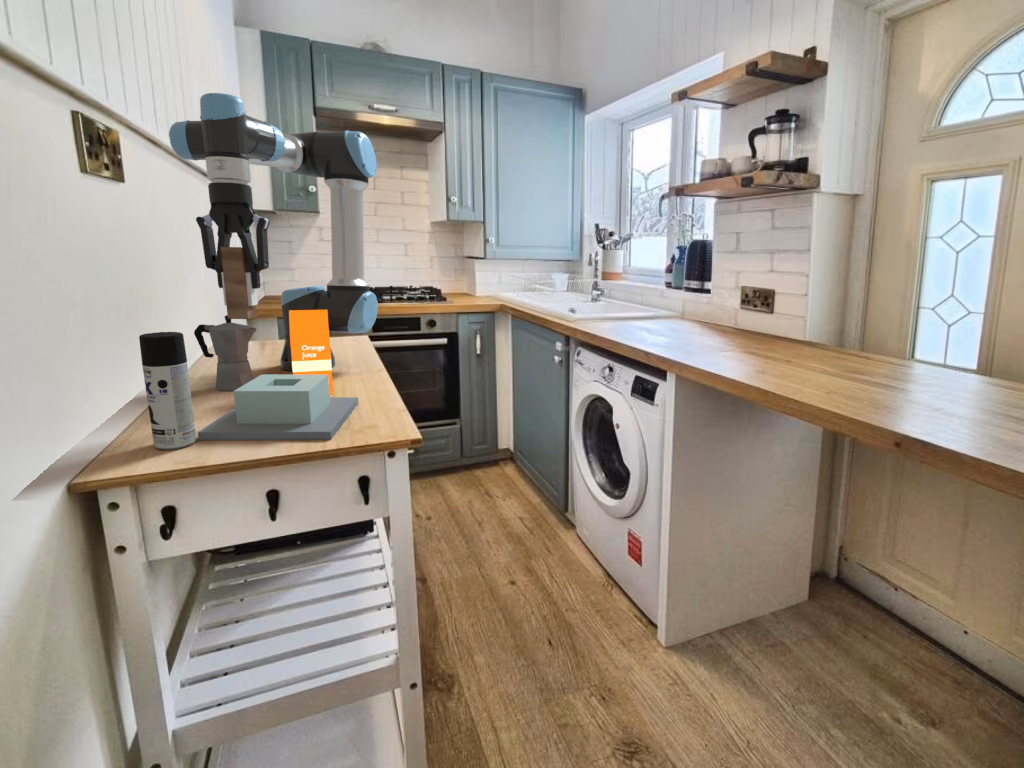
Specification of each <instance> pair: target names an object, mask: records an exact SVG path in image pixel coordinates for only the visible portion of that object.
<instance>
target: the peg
mask: <svg viewBox="0 0 1024 768" xmlns="http://www.w3.org/2000/svg"><path fill="white" fill-rule="evenodd" d="M221 256H222V266H223V276H224V286H225V295H226V305H225V306H226V313H227V314H226V315H228V319H231V320H249V319H254V318H257V317H258V316H257V308H256V306H257V305H253V306H248V296H247V285H246V275H245V273H248V270H249V268H248V265H247V261H246V258H245V254H244V250H243V247H242V246H240V247H239V246H237V247H236V246H230V247H221Z"/></svg>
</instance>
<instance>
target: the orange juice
mask: <svg viewBox="0 0 1024 768" xmlns="http://www.w3.org/2000/svg"><path fill="white" fill-rule="evenodd" d="M289 323H290V343H291V355H292V369H293V371H292V374H310V375H328V380H329V395H333V394H334V386H333V385H334V384H333V369H332V368H333V367H332V365H331V353H330V347H331V341H330V339H331V337H330V332H329V327H328V312H327V310H290V311H289Z"/></svg>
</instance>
